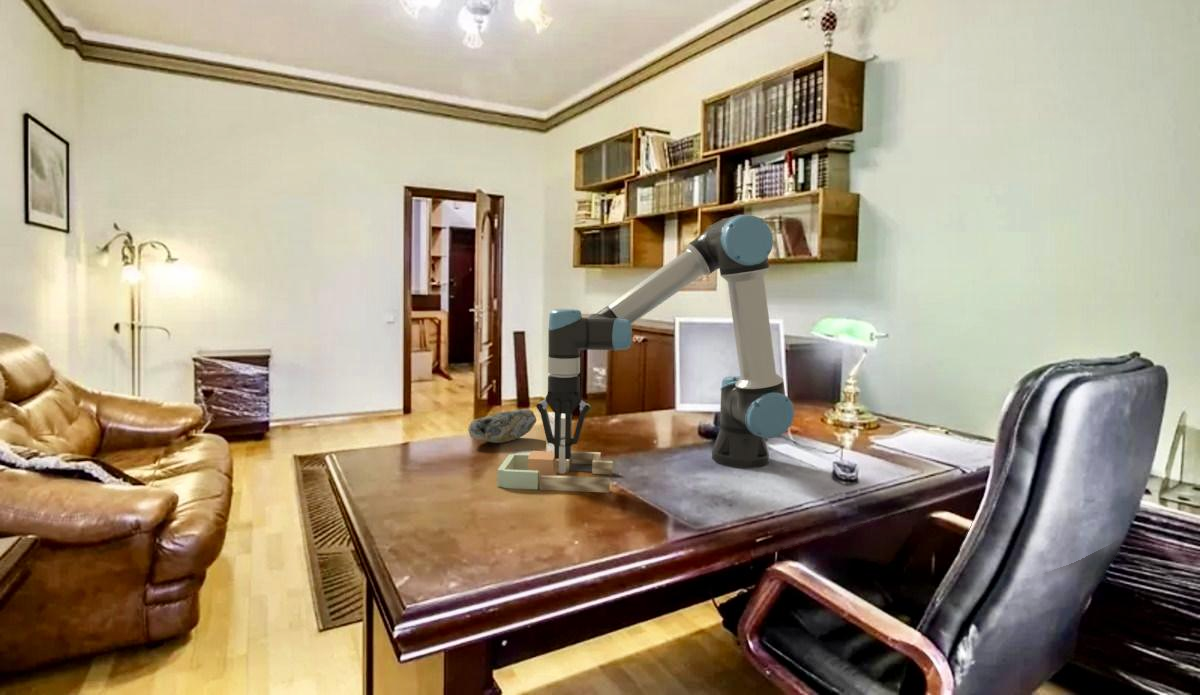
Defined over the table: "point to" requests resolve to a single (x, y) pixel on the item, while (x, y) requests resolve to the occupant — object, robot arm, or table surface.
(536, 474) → the dock
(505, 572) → the table surface
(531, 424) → the stone
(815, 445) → the table surface
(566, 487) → the wooden frame piece
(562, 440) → the ink box
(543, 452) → the block
